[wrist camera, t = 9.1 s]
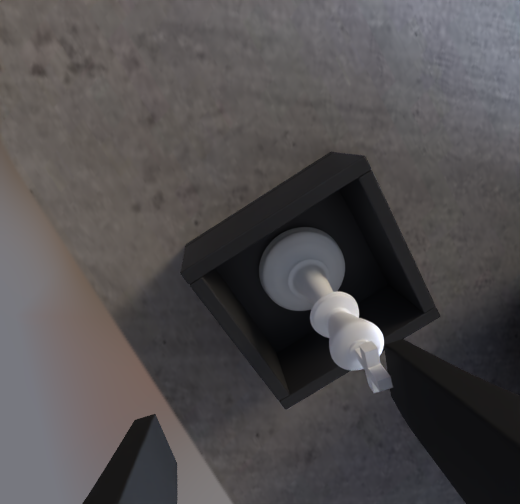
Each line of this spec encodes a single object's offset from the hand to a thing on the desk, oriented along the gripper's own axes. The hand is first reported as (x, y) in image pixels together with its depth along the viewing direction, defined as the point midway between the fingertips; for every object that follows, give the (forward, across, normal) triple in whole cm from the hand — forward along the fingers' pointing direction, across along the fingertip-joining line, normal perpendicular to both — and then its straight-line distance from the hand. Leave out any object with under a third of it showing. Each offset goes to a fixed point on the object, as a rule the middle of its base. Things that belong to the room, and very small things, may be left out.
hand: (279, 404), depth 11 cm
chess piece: (+10, -3, 0) cm, 11 cm away
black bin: (+10, -3, 0) cm, 11 cm away
